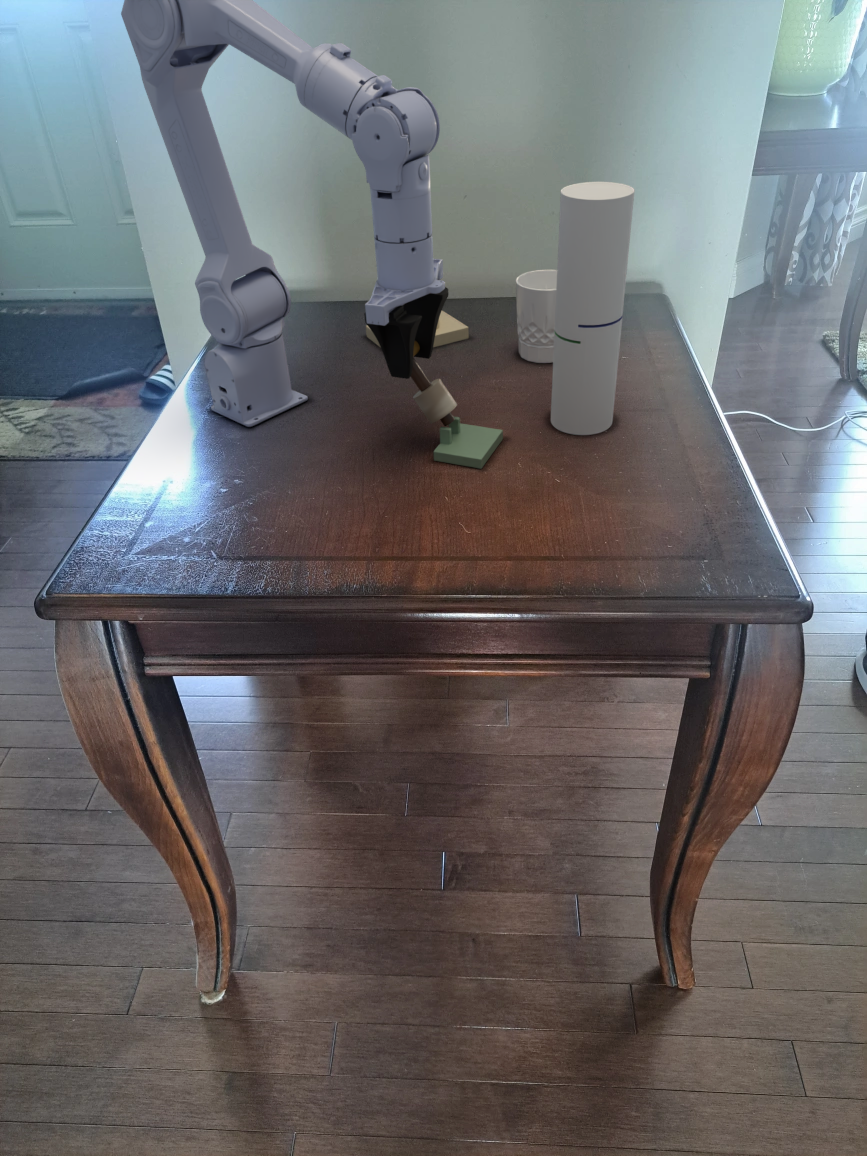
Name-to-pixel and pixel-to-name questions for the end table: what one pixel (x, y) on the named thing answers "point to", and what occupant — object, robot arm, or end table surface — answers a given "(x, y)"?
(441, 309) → the robot arm
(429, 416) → the t-handle lever
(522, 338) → the white cup
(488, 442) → the stand
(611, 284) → the cylindrical container
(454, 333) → the button box
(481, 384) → the end table surface
